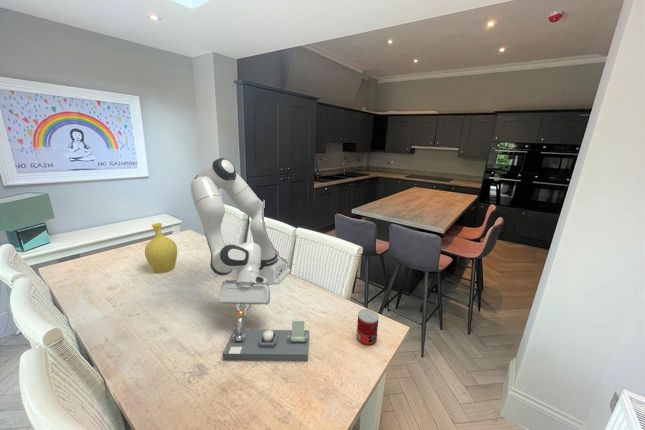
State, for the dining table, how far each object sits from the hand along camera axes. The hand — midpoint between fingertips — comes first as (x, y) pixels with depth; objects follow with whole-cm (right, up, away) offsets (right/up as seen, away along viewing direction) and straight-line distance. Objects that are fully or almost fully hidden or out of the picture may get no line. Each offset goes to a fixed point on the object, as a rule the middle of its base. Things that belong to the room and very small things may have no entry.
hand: (241, 315), depth 101 cm
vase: (-63, +7, +54) cm, 83 cm away
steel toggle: (0, -7, -4) cm, 8 cm away
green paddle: (+22, -7, -4) cm, 24 cm away
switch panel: (+11, -11, -3) cm, 16 cm away
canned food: (+49, -10, +3) cm, 50 cm away
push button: (+11, -7, -4) cm, 14 cm away
